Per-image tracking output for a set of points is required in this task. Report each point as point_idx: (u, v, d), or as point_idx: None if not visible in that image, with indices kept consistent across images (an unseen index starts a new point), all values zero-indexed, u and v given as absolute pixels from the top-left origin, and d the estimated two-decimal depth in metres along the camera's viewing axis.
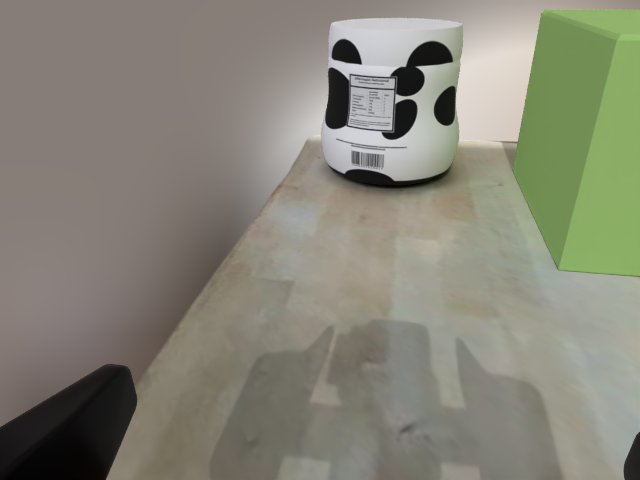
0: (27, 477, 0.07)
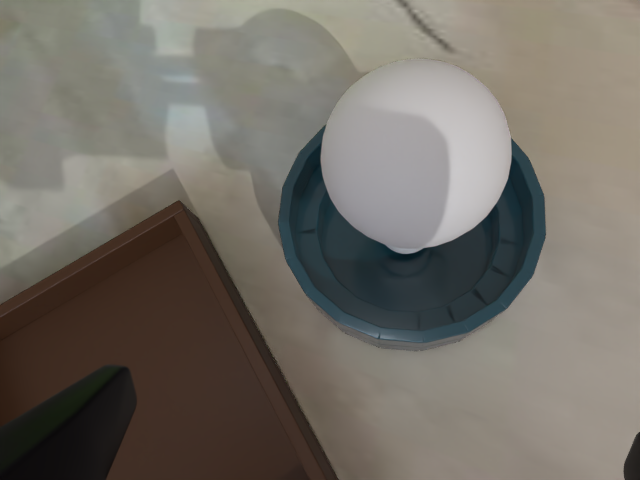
0: (27, 477, 0.07)
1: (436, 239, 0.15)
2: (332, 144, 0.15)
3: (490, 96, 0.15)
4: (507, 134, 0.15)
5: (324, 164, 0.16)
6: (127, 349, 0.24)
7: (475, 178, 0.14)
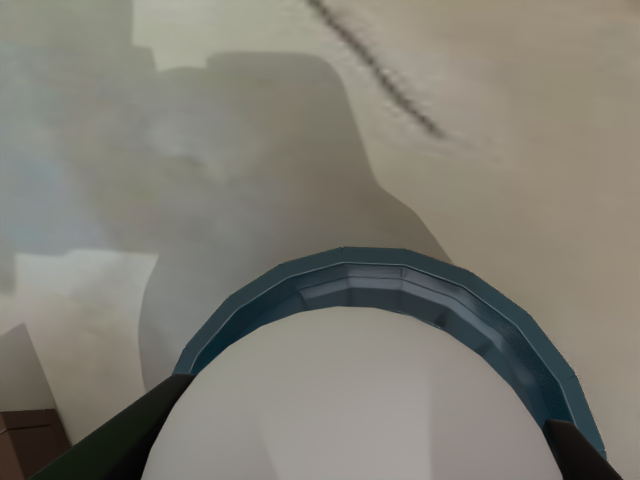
0: None
1: None
2: None
3: (528, 471, 0.06)
4: None
5: None
6: None
7: None
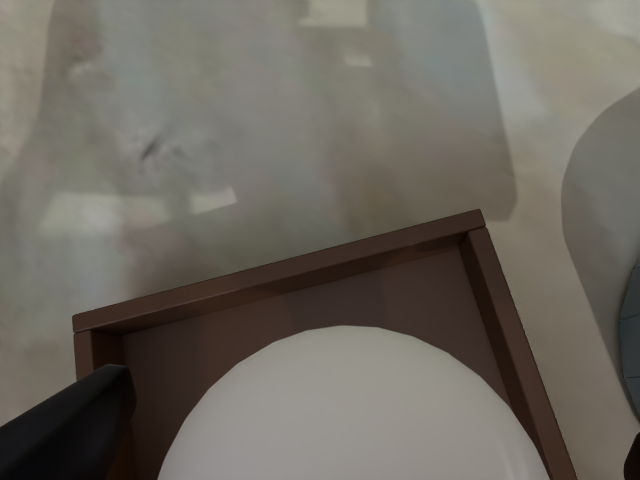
0: (27, 477, 0.07)
1: None
2: None
3: None
4: None
5: None
6: None
7: None
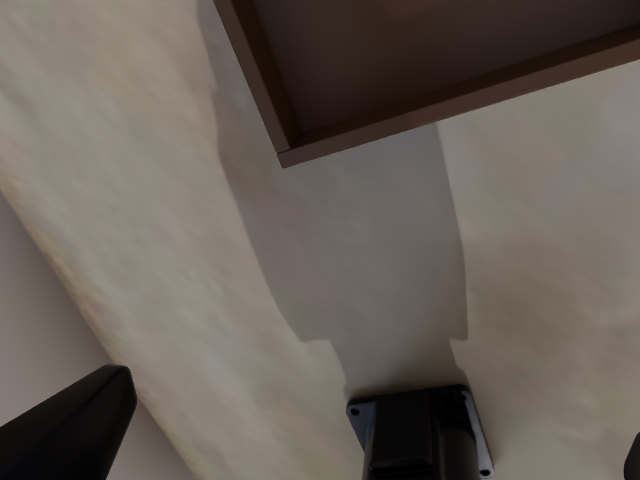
0: (27, 477, 0.07)
1: None
2: None
3: None
4: None
5: None
6: None
7: None
